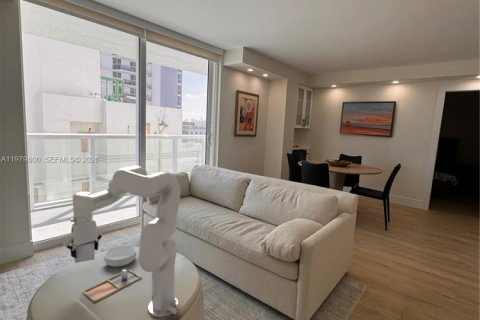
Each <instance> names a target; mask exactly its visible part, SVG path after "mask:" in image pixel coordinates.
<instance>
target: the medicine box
mask: <svg viewBox="0 0 480 320" xmlns="http://www.w3.org/2000/svg"><path fill="white" fill-rule="evenodd" d="M75 250H76V256H77V257H76V258H74V264H77V263H81V262H88V261H92V260H93V261H94V260H95V256H96V255H95V251H96V250H95V249H94V241H91V242H88V243H85V244H82V245H78V246H77V247H76V248H75Z"/></svg>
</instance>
